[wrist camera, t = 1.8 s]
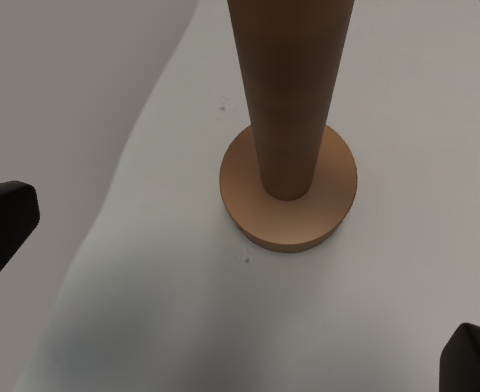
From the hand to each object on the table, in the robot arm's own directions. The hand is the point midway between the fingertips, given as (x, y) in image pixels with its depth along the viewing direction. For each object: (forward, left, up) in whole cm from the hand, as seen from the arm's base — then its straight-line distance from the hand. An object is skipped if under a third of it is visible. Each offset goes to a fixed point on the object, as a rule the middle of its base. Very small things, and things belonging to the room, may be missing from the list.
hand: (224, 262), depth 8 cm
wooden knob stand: (+5, +1, -11) cm, 12 cm away
